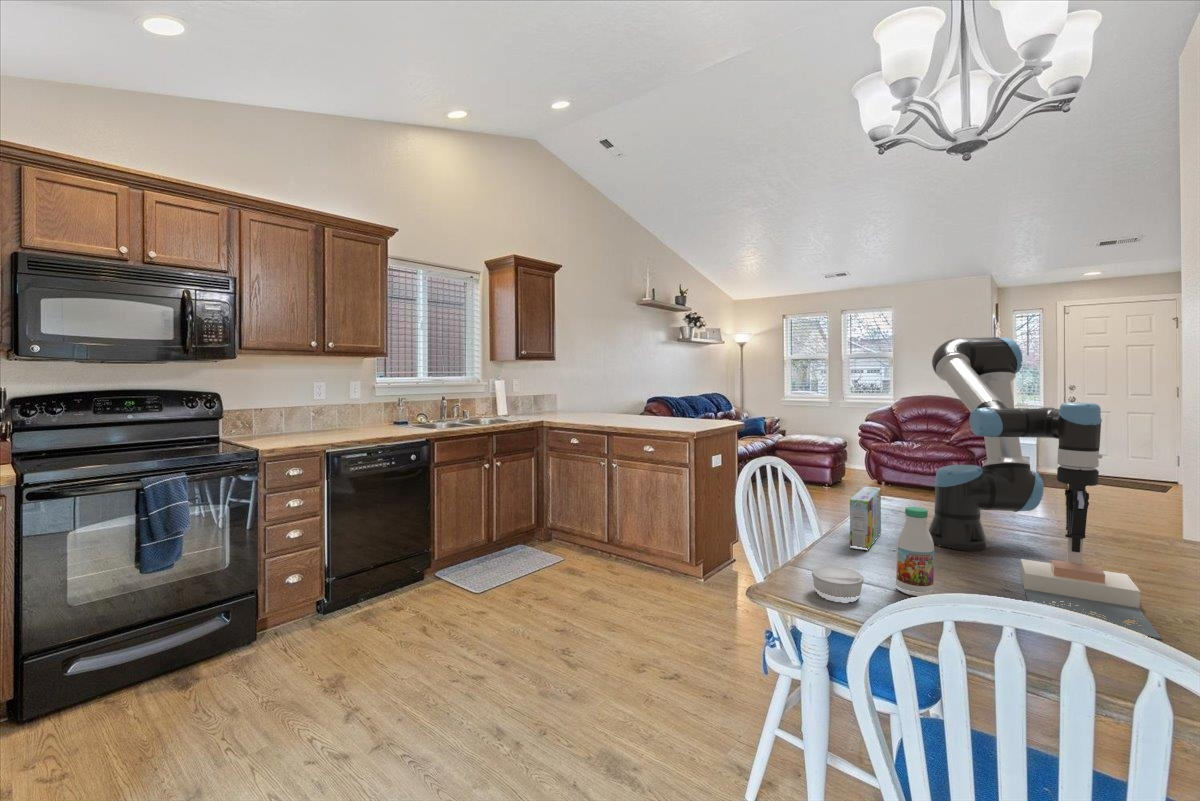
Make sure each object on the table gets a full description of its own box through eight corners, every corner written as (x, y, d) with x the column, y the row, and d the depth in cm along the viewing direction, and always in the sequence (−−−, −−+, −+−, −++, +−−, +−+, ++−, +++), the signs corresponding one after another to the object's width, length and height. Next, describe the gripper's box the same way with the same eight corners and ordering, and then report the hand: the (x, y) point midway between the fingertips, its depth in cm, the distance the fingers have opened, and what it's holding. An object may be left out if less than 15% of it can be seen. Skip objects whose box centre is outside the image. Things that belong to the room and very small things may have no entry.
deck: (1024, 590, 132) (1025, 573, 132) (1020, 574, 142) (1020, 558, 142) (1139, 609, 121) (1140, 591, 121) (1126, 590, 131) (1126, 574, 131)
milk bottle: (888, 586, 135) (890, 505, 134) (918, 584, 136) (921, 504, 135) (909, 599, 127) (911, 513, 126) (940, 597, 128) (943, 512, 127)
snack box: (862, 531, 180) (863, 485, 179) (881, 534, 177) (882, 487, 176) (848, 548, 163) (849, 498, 162) (869, 552, 160) (870, 500, 159)
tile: (1053, 575, 131) (1054, 567, 130) (1050, 567, 136) (1050, 559, 135) (1104, 583, 126) (1105, 574, 126) (1099, 574, 131) (1099, 566, 131)
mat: (1031, 615, 119) (1031, 613, 119) (1024, 590, 132) (1024, 588, 132) (1161, 639, 108) (1161, 638, 108) (1139, 609, 121) (1139, 608, 121)
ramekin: (838, 609, 122) (838, 586, 122) (800, 591, 133) (801, 569, 132) (874, 601, 127) (875, 578, 127) (835, 583, 137) (836, 562, 137)
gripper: (1104, 472, 126) (1100, 575, 127) (1093, 464, 137) (1089, 558, 138) (1061, 469, 130) (1058, 569, 131) (1053, 462, 141) (1050, 553, 142)
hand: (1074, 563), depth 134 cm, fingers closed
